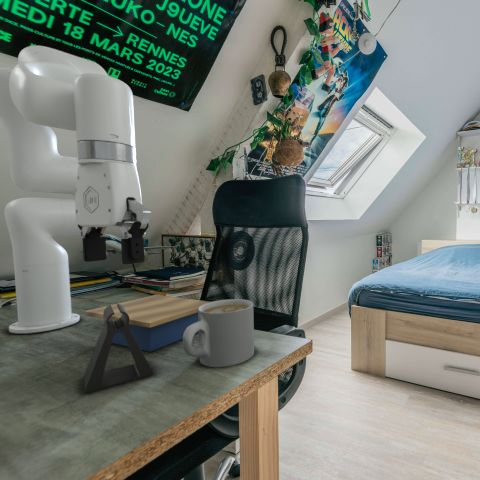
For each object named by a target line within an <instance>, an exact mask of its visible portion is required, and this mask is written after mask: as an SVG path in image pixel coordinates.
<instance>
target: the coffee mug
mask: <svg viewBox="0 0 480 480" xmlns="http://www.w3.org/2000/svg"><path fill="white" fill-rule="evenodd" d="M209 302H210V303H206V304H204V305H202V306H200V307H199V308H198V322H196V323H193V324H192V325H190V326H188V327H187V328H186V330H185V331H184V334H183V339H182V348H183V351H184V352H185V353H186V354H187V355H189V356H191V357H197V358H198V357H199V362H200V364H201V365H204V366H205V367H209V368H225V367H231V366H235V365H238V364H241V363H244V362H246V361H248V360H250V359H251V358H252V357H253V356H254V354H255V323H254V303H253V302H252V301H251V300H249V299H239V298H235V299H234V298H233V299H220V300H214V301H209ZM198 331H199V333H198V345H197V346H196V347H194V344H193V340H194V336H195V335H196V334H197V333H196V332H198ZM195 333H196V334H195Z"/></svg>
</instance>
